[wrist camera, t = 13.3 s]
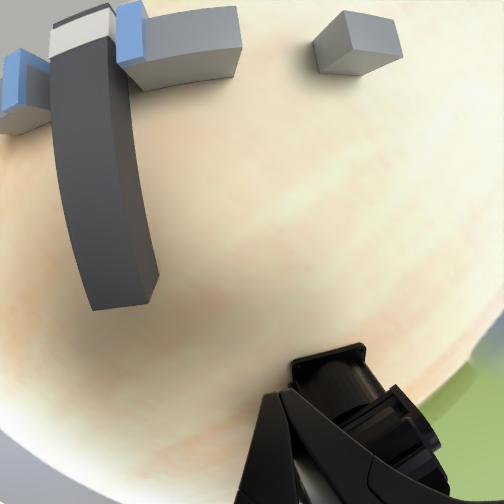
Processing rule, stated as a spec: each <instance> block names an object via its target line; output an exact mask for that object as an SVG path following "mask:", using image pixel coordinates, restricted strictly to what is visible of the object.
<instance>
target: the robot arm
mask: <svg viewBox="0 0 504 504" xmlns="http://www.w3.org/2000/svg"><path fill="white" fill-rule="evenodd" d="M359 349H360V350H359ZM365 356H366V347H365V345H364V344H362V343H359V344H356V345H352V346H349V347H345V348H341V349H338V350H334V351H330V352H326V353H322V354H319V355H314V356H310V357H306V358H302V359H297V360H294V361H293V362H292V363H291V379H292V383H289V384H288V389H285V390H281V391H279V392H271V393H266V394H264V395H263V397H262V402H261V406H260V410H259V414H258V418H257V422H256V426H255V429H254V433H253V437H252V441H251V445H250V448H249V452H248V456H247V460H246V463H245V467H244V470H243V474H242V478H241V481H240V485H239V488H238V489H239V490H238V491H237V494H236V498H235V501H234V504H299V502H300V503H302V504H504V500H501V501H500V500H499V501H464V500H459V499H455V498H452V497H450V496H449V495H450V486H449V484H448V483H447V482H448V478H447V475H446V473H445V472H444V470H443V468H442V466H441V465H440V463H439V461H438V460H437V458H436V456H435V455H434V453H433V452H435V451H436V450H438V449H439V448H441V443H440V441H439V439H438V437H437V435H436V434H435V432H434V430H433V429H432V427H431V426H430V424H429V423H428V421H427V420H426V418H425V417H424V416H423V414H422V413H421V412H420V411H419V410H418V408H417V407H416V406H415V405H414V404H413V403H412V402H411V401H410V399H409V398H408V397H407V396H406V395H405V394H404V393H403V392H402V390H401V389H400V388H399V387H398V386H397V385H396V384H395V385H393V386H392V387H391V388H390V390H388V391H387V392H386V391H385V390H384V388H383V387H382V385H381V384H380V383H379V381H378V380H377V378H376V377H375V376H374V374H373V373H372V372H371V370H370V369H369V367H368V366H367V365H366V363H365ZM297 365H299V366H297ZM295 366H297V367H295Z"/></svg>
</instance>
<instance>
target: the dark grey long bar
mask: <svg viewBox="0 0 504 504" xmlns="http://www.w3.org/2000/svg"><path fill="white" fill-rule="evenodd" d="M48 59H50V60H51V63H50V104H51V123H52V136H53V146H54V155H55V163H56V170H57V177H58V183H59V189H60V194H61V200H62V205H63V210H64V215H65V219H66V224H67V228H68V232H69V236H70V240H71V244H72V248H73V252H74V255H75V259H76V262H77V266H78V269H79V272H80V276H81V279H82V282H83V285H84V288H85V291H86V294H87V297H88V300H89V303H90V306H91V308H92V311H96V310H104V309H112V308H120V307H128V306H135V305H142V304H148V303H149V300H150V298H151V295H152V293H153V290H154V288H155V285H156V283H157V280H158V278H159V272H158V268H157V264H156V260H155V256H154V251H153V247H152V242H151V238H150V233H149V228H148V223H147V218H146V213H145V208H144V203H143V197H142V192H141V186H140V180H139V174H138V167H137V161H136V154H135V146H134V139H133V131H132V122H131V112H130V102H129V90H128V76H127V73H126V72H125V71H124V70H123V69H122V68H121V67H120V66H119V65H118V64H117V60H116V13H115V12H114V10H113V9H112V7H111V6H110V4H109V3H105V4H102V5H99V6H97V7H94V8H91V9H88V10H86V11H83V12H81V13H78V14H76V15H73V16H71V17H68V18H66V19H64V20H62V21H60V22H57V23H55V24H53V30H51V32H50V43H49V58H48Z"/></svg>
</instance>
